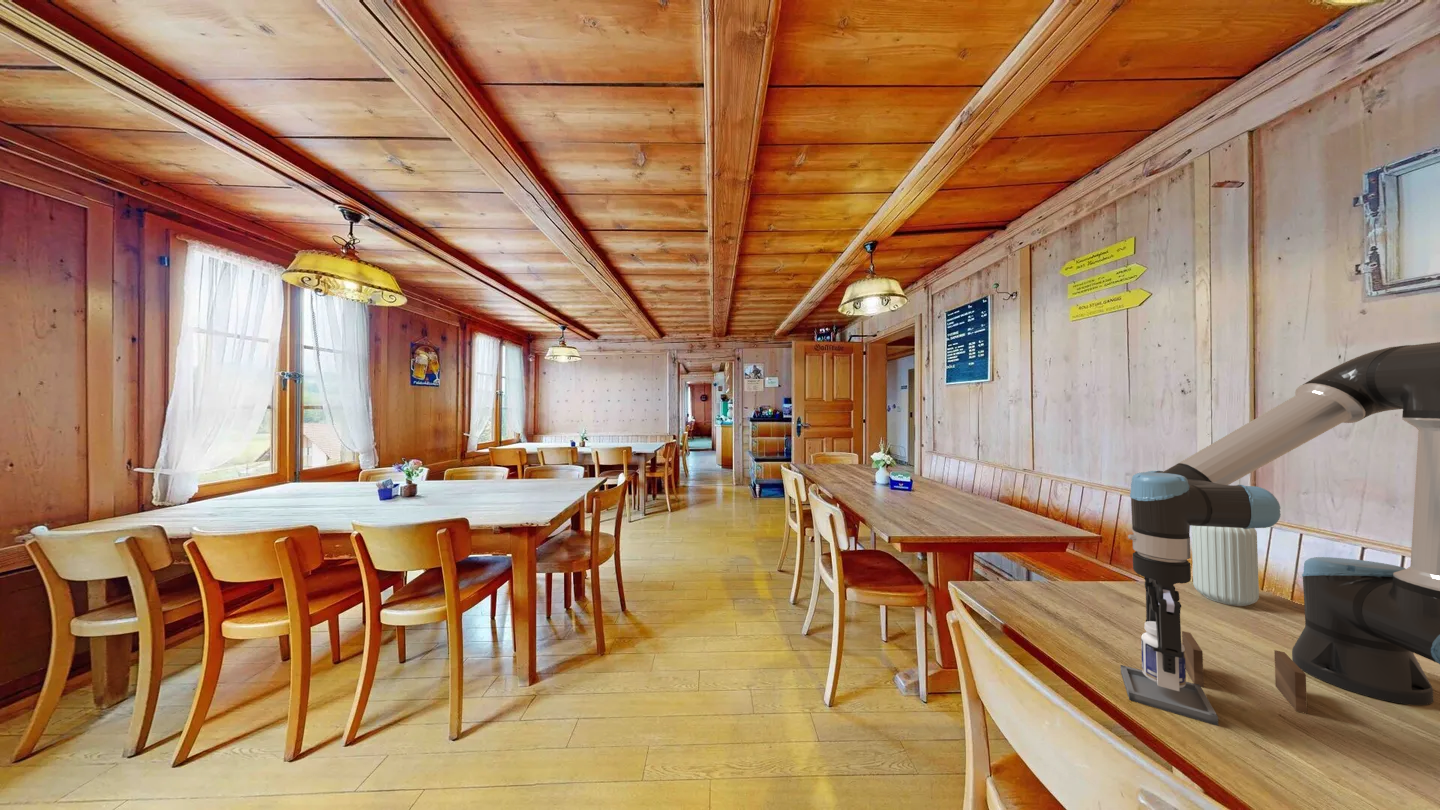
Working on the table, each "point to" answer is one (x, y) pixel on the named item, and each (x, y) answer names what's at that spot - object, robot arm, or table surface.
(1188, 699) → the tray
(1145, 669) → the pill bottle
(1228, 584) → the vase
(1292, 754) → the table surface
